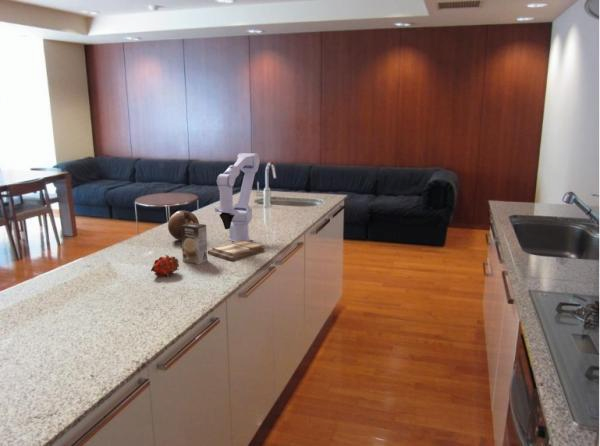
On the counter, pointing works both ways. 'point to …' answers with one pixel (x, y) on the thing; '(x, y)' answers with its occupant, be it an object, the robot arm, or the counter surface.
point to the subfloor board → (253, 250)
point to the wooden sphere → (180, 222)
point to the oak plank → (231, 249)
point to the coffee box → (194, 243)
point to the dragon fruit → (165, 266)
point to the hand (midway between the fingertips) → (227, 228)
